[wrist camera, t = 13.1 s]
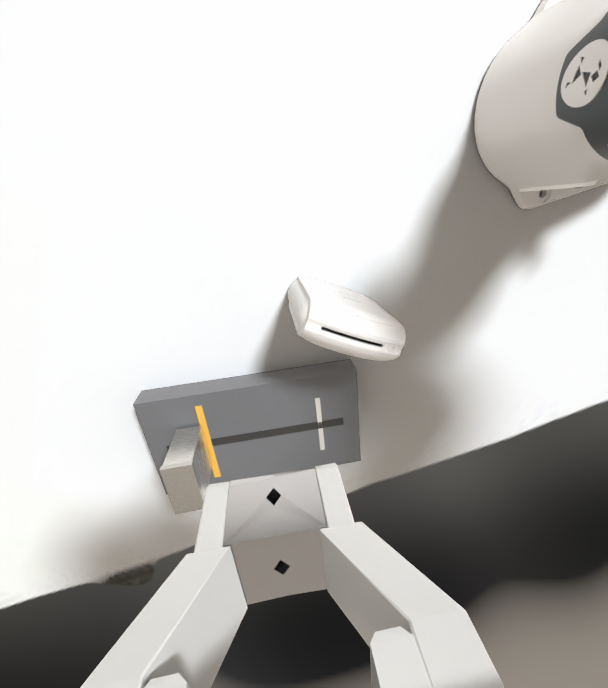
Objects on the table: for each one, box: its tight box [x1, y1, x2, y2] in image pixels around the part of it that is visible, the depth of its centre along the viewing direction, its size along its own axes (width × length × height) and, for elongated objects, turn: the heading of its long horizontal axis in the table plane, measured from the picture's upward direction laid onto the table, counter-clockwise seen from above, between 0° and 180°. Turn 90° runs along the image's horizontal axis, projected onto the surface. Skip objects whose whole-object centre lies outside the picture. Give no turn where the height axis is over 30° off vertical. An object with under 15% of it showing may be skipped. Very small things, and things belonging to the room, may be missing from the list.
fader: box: [159, 425, 212, 514], centre depth 37 cm, size 3×6×7 cm, turn 6°
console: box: [133, 359, 361, 494], centre depth 43 cm, size 26×14×3 cm, turn 96°
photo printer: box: [288, 276, 406, 361], centre depth 33 cm, size 10×4×12 cm, turn 71°
